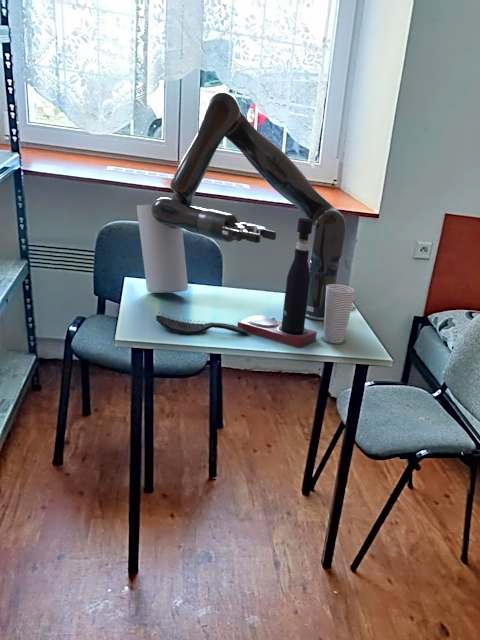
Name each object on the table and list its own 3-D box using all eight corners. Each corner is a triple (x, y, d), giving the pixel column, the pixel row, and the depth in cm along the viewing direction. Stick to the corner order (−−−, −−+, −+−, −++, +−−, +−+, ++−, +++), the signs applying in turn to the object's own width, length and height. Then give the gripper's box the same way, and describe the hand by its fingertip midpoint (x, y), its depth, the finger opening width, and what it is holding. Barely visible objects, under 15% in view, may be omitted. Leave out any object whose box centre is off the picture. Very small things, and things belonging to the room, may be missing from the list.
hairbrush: (250, 329, 181) (156, 317, 173) (248, 342, 183) (155, 330, 175) (246, 320, 188) (156, 308, 180) (245, 332, 190) (155, 321, 182)
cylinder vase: (187, 292, 201) (178, 204, 193) (145, 293, 199) (134, 204, 190) (188, 289, 213) (180, 206, 204) (148, 290, 210) (138, 206, 202)
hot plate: (258, 321, 199) (259, 312, 197) (317, 338, 193) (318, 329, 192) (237, 329, 189) (238, 319, 187) (298, 347, 183) (299, 338, 182)
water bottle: (307, 329, 190) (321, 221, 176) (298, 334, 184) (312, 223, 170) (287, 324, 191) (299, 216, 177) (277, 329, 186) (289, 218, 172)
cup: (344, 347, 190) (353, 294, 183) (316, 341, 191) (323, 288, 183) (349, 339, 198) (357, 287, 190) (321, 333, 198) (329, 282, 191)
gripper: (203, 212, 177) (255, 225, 172) (232, 209, 189) (281, 221, 184) (202, 241, 180) (253, 254, 176) (230, 236, 192) (278, 248, 188)
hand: (267, 237), depth 180 cm, fingers open, 8 cm apart
